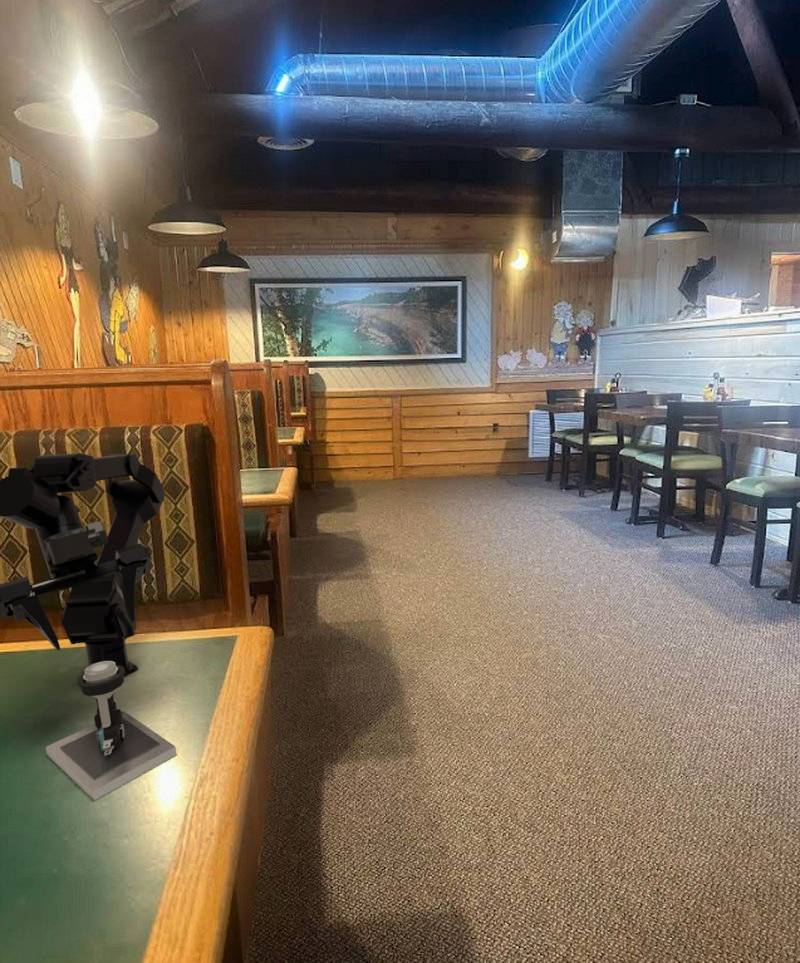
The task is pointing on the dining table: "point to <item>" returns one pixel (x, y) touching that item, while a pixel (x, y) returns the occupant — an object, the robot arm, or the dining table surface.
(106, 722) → the push button
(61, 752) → the mounting plate
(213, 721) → the dining table surface
